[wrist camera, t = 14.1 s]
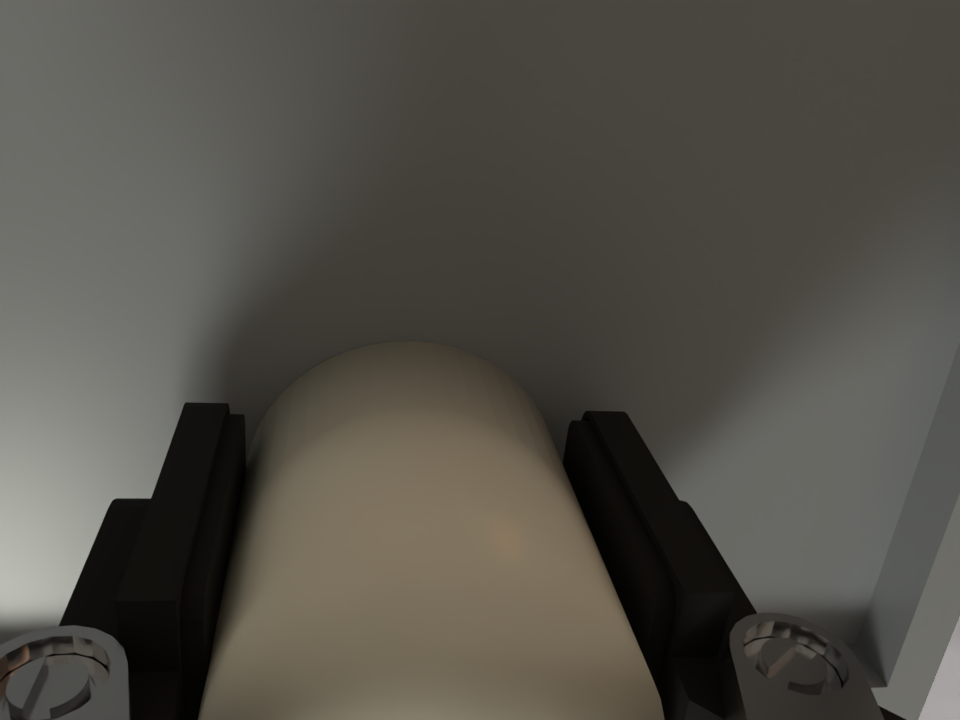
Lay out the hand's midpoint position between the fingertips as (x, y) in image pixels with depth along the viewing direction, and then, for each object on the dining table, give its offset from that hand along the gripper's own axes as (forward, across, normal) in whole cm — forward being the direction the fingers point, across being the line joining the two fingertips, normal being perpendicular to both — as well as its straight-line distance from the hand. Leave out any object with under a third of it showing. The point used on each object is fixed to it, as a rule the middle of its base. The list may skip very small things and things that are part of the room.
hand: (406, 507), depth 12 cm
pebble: (+1, 0, 0) cm, 1 cm away
